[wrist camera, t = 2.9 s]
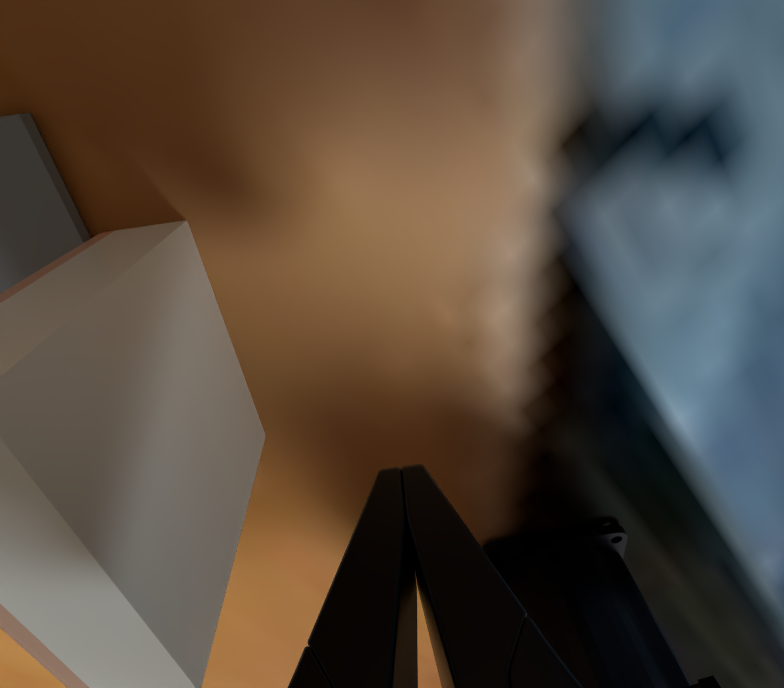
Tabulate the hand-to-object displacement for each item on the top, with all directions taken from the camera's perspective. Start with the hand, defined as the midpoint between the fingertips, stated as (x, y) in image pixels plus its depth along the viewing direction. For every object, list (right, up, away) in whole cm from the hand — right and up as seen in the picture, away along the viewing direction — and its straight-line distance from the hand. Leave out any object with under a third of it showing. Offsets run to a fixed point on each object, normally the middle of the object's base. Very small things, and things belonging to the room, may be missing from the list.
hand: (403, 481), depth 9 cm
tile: (-6, +3, +6) cm, 9 cm away
